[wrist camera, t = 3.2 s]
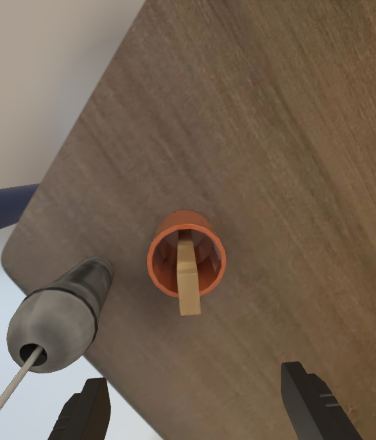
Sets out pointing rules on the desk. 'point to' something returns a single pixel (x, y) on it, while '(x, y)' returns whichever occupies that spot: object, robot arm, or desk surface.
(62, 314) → the beverage cup
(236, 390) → the desk surface
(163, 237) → the utensil cup
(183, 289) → the wooden block
